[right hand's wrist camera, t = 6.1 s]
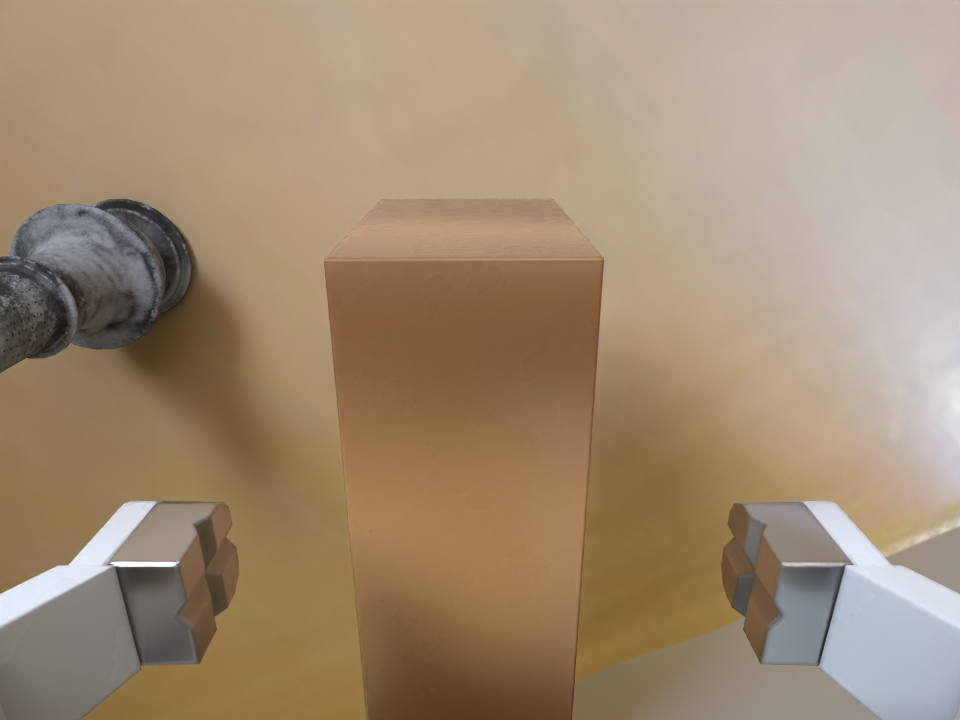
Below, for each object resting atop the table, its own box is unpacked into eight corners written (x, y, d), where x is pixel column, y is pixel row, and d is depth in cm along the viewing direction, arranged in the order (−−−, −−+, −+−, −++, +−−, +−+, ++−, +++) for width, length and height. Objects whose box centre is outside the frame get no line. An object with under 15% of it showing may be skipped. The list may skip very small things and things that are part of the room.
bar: (380, 198, 19) (322, 258, 12) (554, 198, 19) (604, 257, 12) (412, 751, 27) (390, 985, 20) (532, 750, 27) (553, 983, 20)
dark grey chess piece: (221, 245, 28) (57, 337, 17) (162, 345, 30) (-21, 489, 19) (96, 162, 27) (-169, 206, 16) (42, 273, 29) (-231, 381, 18)
